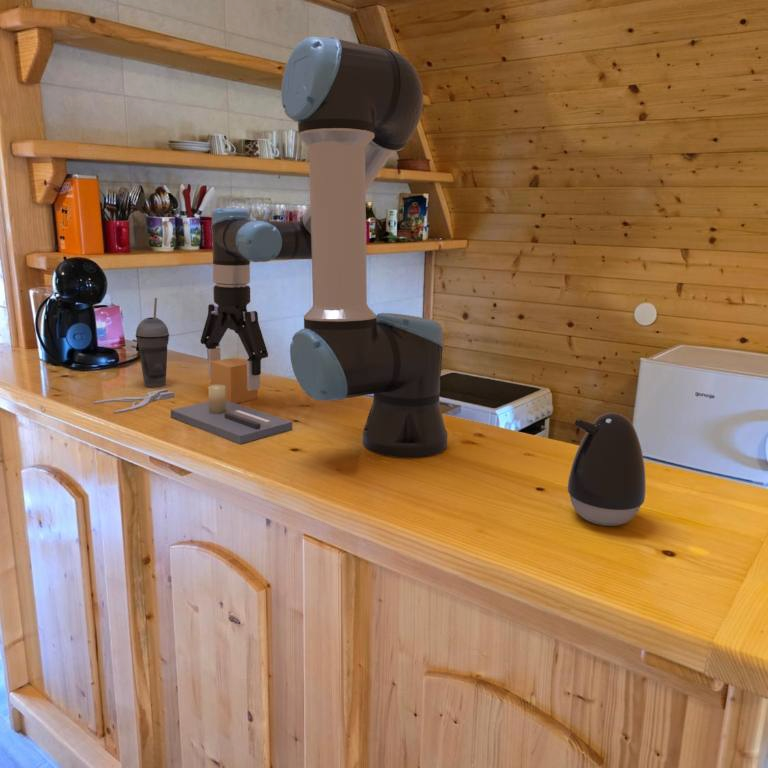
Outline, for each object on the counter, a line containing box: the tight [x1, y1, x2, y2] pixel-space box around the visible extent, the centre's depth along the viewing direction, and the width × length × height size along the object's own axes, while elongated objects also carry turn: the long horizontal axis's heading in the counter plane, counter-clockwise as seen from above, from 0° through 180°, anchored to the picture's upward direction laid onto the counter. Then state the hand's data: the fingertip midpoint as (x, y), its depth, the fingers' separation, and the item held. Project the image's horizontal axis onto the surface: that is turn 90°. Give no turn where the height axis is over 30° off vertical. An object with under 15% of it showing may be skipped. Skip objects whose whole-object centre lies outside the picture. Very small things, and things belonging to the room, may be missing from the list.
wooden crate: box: [210, 356, 259, 404], centre depth 149 cm, size 7×7×8 cm
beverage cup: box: [135, 297, 170, 388], centre depth 156 cm, size 7×7×20 cm
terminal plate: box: [170, 384, 293, 445], centre depth 132 cm, size 22×12×6 cm, turn 49°
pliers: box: [92, 388, 175, 415], centre depth 145 cm, size 10×2×15 cm
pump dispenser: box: [567, 412, 647, 527], centre depth 94 cm, size 10×10×15 cm
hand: (233, 383), depth 149 cm, fingers open, 13 cm apart
